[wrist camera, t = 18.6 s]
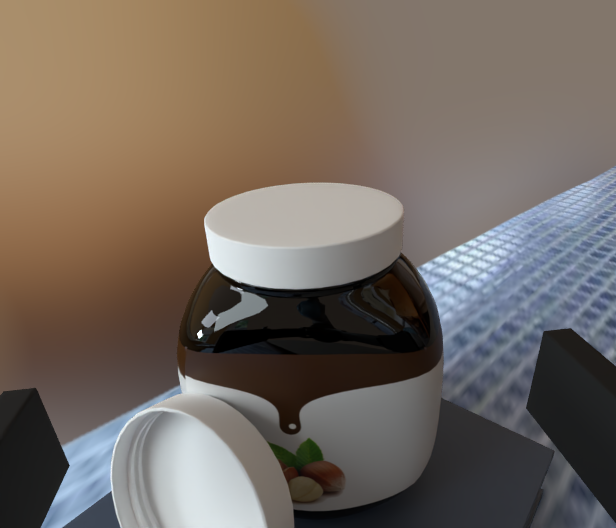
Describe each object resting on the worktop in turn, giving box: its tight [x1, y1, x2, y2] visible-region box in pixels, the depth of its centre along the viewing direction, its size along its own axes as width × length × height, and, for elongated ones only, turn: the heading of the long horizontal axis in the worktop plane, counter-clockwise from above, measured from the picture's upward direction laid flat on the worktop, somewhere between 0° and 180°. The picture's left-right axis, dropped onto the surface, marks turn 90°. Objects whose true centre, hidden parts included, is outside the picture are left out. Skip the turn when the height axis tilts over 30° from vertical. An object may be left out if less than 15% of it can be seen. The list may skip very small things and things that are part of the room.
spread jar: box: [111, 183, 444, 528], centre depth 16 cm, size 12×11×12 cm
